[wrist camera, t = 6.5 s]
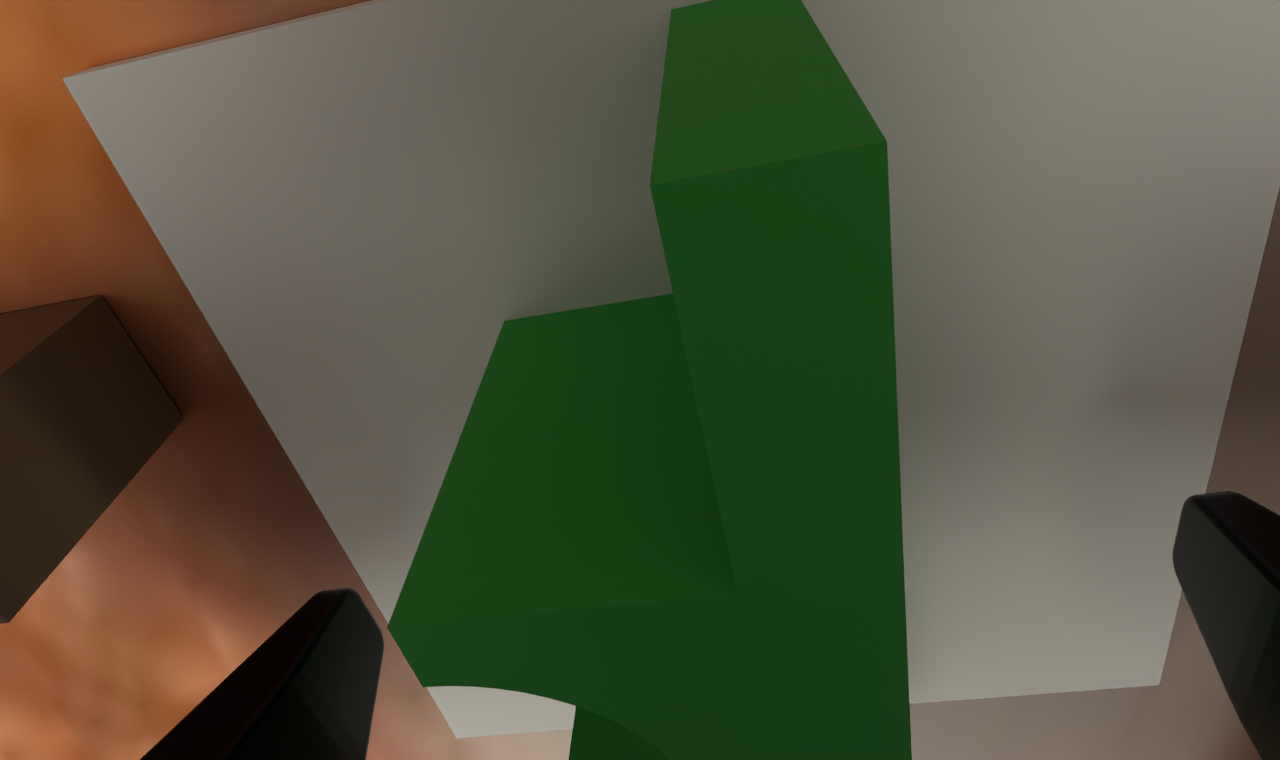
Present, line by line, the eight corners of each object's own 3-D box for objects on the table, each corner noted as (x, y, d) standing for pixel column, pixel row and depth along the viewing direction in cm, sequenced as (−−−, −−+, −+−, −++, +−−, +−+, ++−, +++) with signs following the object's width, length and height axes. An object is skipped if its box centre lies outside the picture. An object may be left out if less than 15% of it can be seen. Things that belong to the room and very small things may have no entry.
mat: (1346, -236, 7) (1382, -239, 6) (1146, 663, 13) (1158, 684, 13) (85, 68, 9) (62, 78, 8) (461, 718, 15) (457, 737, 15)
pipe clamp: (415, 62, 8) (167, 265, 4) (790, -22, 7) (891, 126, 4) (644, 717, 14) (626, 1042, 10) (861, 700, 13) (927, 1039, 10)
